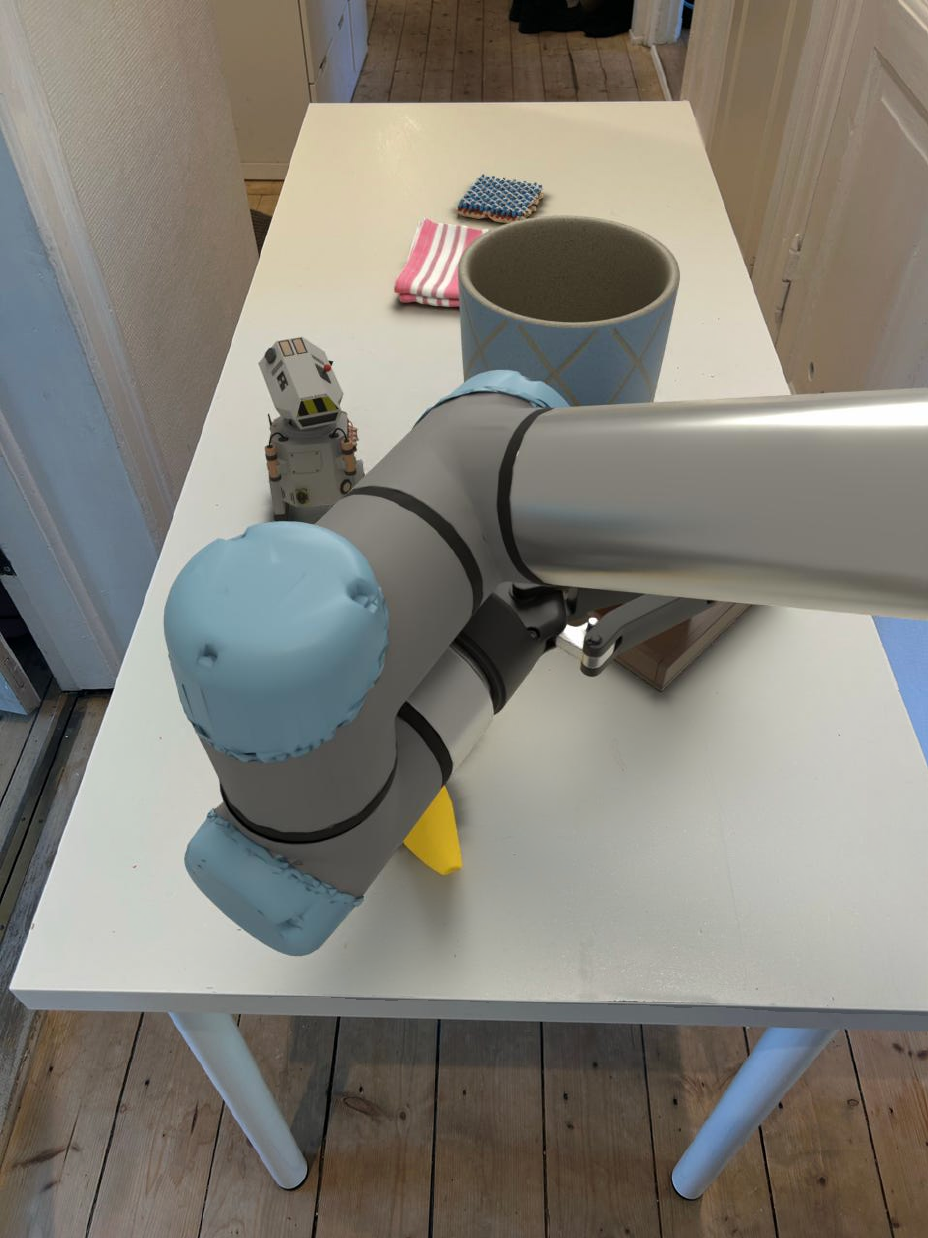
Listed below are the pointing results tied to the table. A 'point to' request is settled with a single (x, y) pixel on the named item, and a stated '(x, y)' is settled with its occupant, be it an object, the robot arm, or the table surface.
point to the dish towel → (434, 264)
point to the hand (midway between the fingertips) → (621, 452)
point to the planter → (569, 307)
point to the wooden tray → (672, 642)
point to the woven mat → (500, 200)
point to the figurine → (307, 429)
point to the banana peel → (437, 836)
